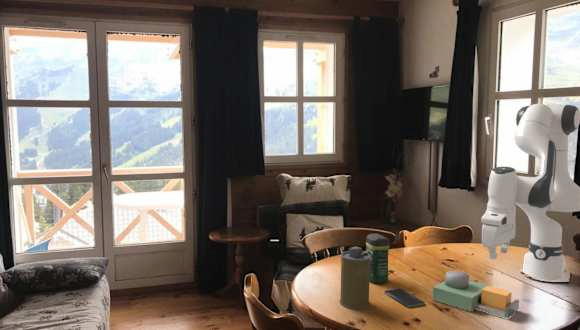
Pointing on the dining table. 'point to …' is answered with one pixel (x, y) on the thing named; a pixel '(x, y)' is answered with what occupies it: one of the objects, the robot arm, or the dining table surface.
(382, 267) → the coffee jar
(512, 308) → the open gray drawer
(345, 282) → the canister
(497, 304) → the orange block
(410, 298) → the phone
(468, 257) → the dining table surface
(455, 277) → the green block with dome
